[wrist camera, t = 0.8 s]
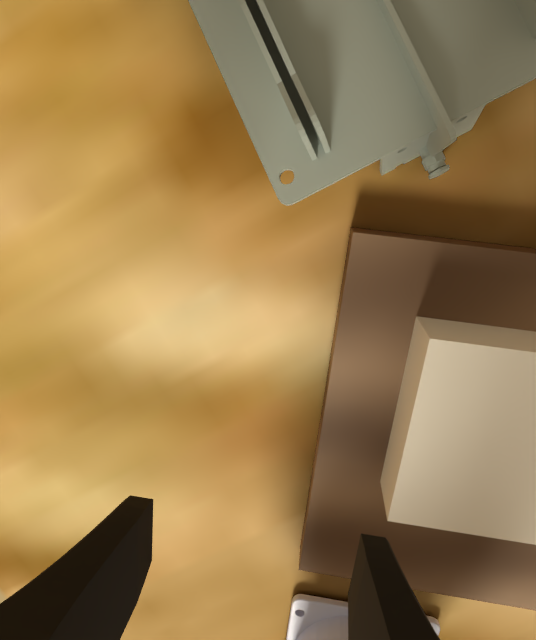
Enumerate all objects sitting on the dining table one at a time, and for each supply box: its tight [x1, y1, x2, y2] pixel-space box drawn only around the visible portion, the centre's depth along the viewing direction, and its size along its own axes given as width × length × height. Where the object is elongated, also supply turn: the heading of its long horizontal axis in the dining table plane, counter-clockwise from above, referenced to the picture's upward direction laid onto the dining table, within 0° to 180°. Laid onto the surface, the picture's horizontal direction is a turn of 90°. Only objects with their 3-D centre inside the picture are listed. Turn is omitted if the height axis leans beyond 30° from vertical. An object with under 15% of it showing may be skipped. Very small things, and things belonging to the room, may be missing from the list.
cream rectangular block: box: [380, 316, 536, 545], centre depth 18 cm, size 8×6×2 cm
